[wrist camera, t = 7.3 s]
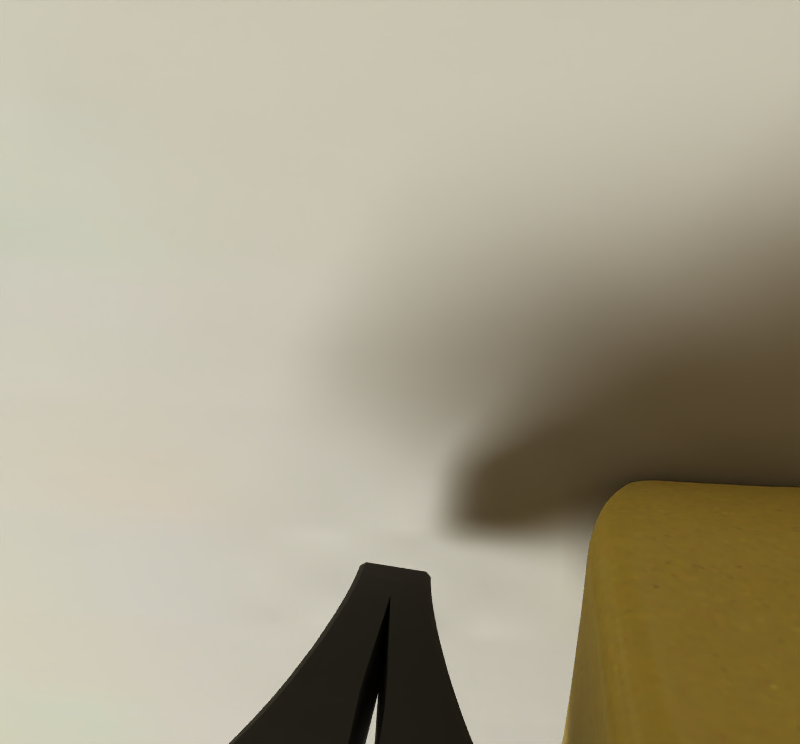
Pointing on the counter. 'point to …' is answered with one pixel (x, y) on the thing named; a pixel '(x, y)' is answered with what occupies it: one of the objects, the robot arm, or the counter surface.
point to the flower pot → (690, 618)
